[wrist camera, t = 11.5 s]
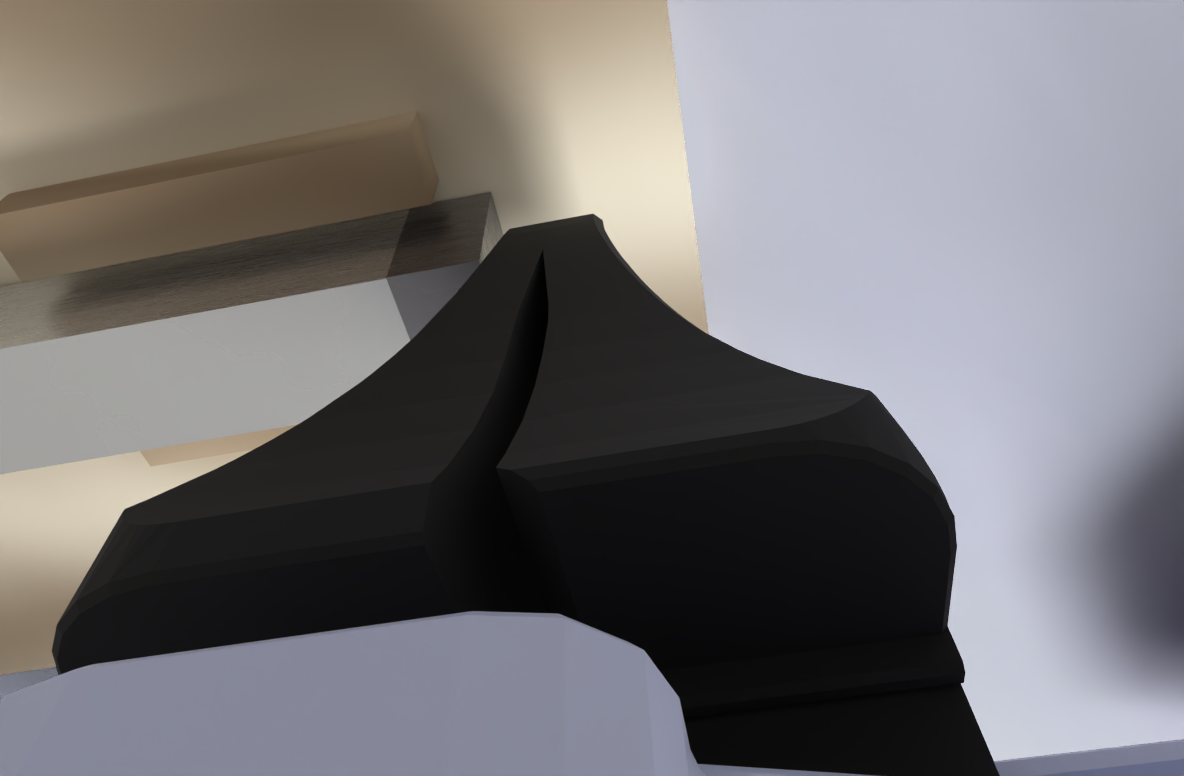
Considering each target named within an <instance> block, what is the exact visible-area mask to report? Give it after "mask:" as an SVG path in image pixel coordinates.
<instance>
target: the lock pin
mask: <svg viewBox="0 0 1184 776" xmlns="http://www.w3.org/2000/svg"><path fill="white" fill-rule="evenodd" d="M502 236H503V232H502V228H501V225H500V221H499V218H498V214H497V211H496V207H495V203H494V200H493V196H492V193H491V192H486V193H481V194H476V195H470V196H465V197H460V198H455V199H449V200H444V201H439V202H434V203H432V204H431V205H425V206H420V207H415V208H410V209H407V210H402V211H397V212H391V213H386V214H381V215H376V216H370V217H365V218H360V219H355V220H349V221H344V222H339V223H334V224H328V225H323V226H318V227H313V228H307V229H302V230H297V231H292V232H286V233H281V234H276V235H271V236H265V237H260V238H255V239H250V240H244V241H239V242H234V243H229V244H223V245H218V246H213V247H208V248H202V249H197V250H192V251H187V252H181V253H176V254H171V255H166V256H160V257H155V258H150V259H145V260H139V261H134V262H129V263H124V264H118V265H113V266H108V267H103V268H97V269H92V270H87V271H82V272H76V273H71V274H66V275H61V276H55V277H50V278H45V279H40V280H34V281H29V282H24V283H19V284H13V285H8V286H3V287H0V474H6V473H12V472H18V471H24V470H30V469H36V468H42V467H48V466H54V465H60V464H66V463H72V462H78V461H84V460H90V459H96V458H102V457H108V456H114V455H119V454H125V453H131V452H137V451H143V450H149V449H155V448H161V447H167V446H173V445H179V444H185V443H191V442H197V441H203V440H209V439H215V438H221V437H227V436H233V435H239V434H245V433H251V432H257V431H263V430H269V429H275V428H280V427H286V426H292V425H298V424H299V423H301V422H303V421H304V420H306V419H308V418H309V417H311V416H312V415H313V414H315V413H316V412H318V411H319V410H321V409H322V408H324V407H325V406H327V405H328V404H330V403H331V402H332V401H334V400H335V399H337V398H338V397H340V396H341V395H343V394H344V393H346V392H347V391H349V390H350V389H351V388H353V387H354V386H356V385H357V384H359V383H360V382H361V381H363V380H364V379H365V378H367V377H368V376H369V375H371V374H372V373H373V372H374V371H376V370H377V369H378V368H379V367H380V366H382V365H383V364H384V363H385V362H386V361H388V360H389V359H390V358H391V357H393V356H394V355H395V354H396V353H397V352H398V351H399V350H401V349H402V348H403V347H404V346H405V345H406V344H407V343H408V342H409V341H410V340H412V339H413V338H414V337H415V336H416V335H417V334H418V333H419V332H420V331H421V330H422V329H423V328H424V327H425V325H426V324H427V323H428V322H429V321H430V320H431V319H432V318H433V317H434V316H435V315H436V314H437V313H438V312H439V311H440V310H441V309H442V308H443V307H444V305H445V304H446V303H447V302H448V301H449V300H450V299H451V298H452V297H453V296H454V295H455V294H456V293H457V291H458V290H459V289H460V288H461V287H462V285H463V284H464V283H465V282H466V281H467V279H468V278H469V277H470V276H471V275H472V273H473V272H474V271H475V270H476V269H477V267H478V266H479V265H480V264H481V263H482V261H483V260H484V259H485V257H486V256H487V255H488V254H489V252H490V251H491V250H492V249H493V247H494V246H495V245H496V244H497V242H498V241H499V240H500V239H501V237H502Z"/></svg>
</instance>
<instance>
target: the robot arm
mask: <svg viewBox="0 0 1184 776" xmlns="http://www.w3.org/2000/svg"><path fill="white" fill-rule="evenodd" d="M956 549H957V543H956V531H955V519H954V515H953V513H952V511H951V509H950V507H949V505H948V503H947V500H946V497H945V495H944V493H943V491H942V489H941V487H940V485H939V483H938V481H937V479H936V477H935V476H934V474H933V472H932V471H931V469H930V468H929V466H928V465H927V463H926V461H925V460H924V458H923V457H922V455H921V454H920V452H919V451H918V450H917V448H916V447H915V446H914V444H913V443H912V442H911V440H910V439H909V437H908V436H907V435H906V433H905V432H904V431H903V429H902V428H901V427H900V426H899V424H898V423H897V422H896V420H895V419H894V418H893V417H892V415H891V414H890V413H889V412H888V410H887V409H886V408H885V407H884V405H883V404H882V403H881V402H880V400H879V399H878V398H877V397H876V396H875V395H874V394H873V393H872V392H871V391H869V390H864V389H860V388H856V387H852V386H848V385H844V384H840V383H836V382H832V381H828V380H823V379H819V378H815V377H811V376H807V375H803V374H800V373H797V372H794V371H791V370H788V369H785V368H782V367H780V366H777V365H774V364H771V363H769V362H766V361H763V360H760V359H758V358H756V357H753V356H751V355H749V354H746V353H744V352H742V351H740V350H737V349H735V348H734V347H732V346H730V345H728V344H726V343H724V342H722V341H720V340H718V339H716V338H714V337H712V336H710V335H709V334H707V333H705V332H704V331H702V330H701V329H699V328H698V327H696V326H695V325H694V324H692V323H691V322H689V321H688V320H687V319H685V318H684V317H682V316H681V315H680V314H679V313H677V312H676V311H675V310H674V309H672V308H671V307H670V306H669V305H668V304H667V303H665V302H664V301H663V300H662V299H661V298H660V297H659V296H658V295H657V294H656V293H655V292H654V291H652V290H651V289H650V288H649V287H648V286H647V285H646V284H645V283H644V282H643V280H642V279H641V278H640V277H639V276H638V275H637V274H636V273H635V272H634V270H633V269H632V268H631V267H630V266H629V264H628V263H627V262H626V261H625V260H624V259H623V257H622V256H621V255H620V253H619V252H618V251H617V249H616V248H615V246H614V245H613V243H612V242H611V240H610V238H609V237H608V235H607V233H606V231H605V229H604V224H603V220H602V219H600V218H599V217H597V216H596V215H595V214H588V215H582V216H577V217H571V218H566V219H560V220H555V221H549V222H544V223H538V224H533V225H527V226H522V227H516V228H511V229H509V230H508V231H507V232H506V233H505V234H504V235H503V236H502V237H501V239H500V240H499V241H498V242H497V244H496V245H495V246H494V247H493V249H492V250H491V251H490V252H489V254H488V255H487V256H486V257H485V259H484V260H483V261H482V263H481V264H480V265H479V266H478V267H477V269H476V270H475V271H474V272H473V273H472V275H471V276H470V277H469V278H468V279H467V281H466V282H465V283H464V284H463V285H462V287H461V288H460V289H459V290H458V291H457V293H456V294H455V295H454V296H453V297H452V298H451V299H450V300H449V301H448V302H447V303H446V304H445V305H444V307H443V308H442V309H441V310H440V311H439V312H438V313H437V314H436V315H435V316H434V317H433V318H432V319H431V320H430V321H429V322H428V323H427V324H426V325H425V327H424V328H423V329H422V330H421V331H420V332H419V333H418V334H417V335H416V336H415V337H414V338H413V339H412V340H410V341H409V342H408V343H407V344H406V345H405V346H404V347H403V348H402V349H401V350H399V351H398V352H397V353H396V354H395V355H394V356H393V357H391V358H390V359H389V360H388V361H386V362H385V363H384V364H383V365H382V366H380V367H379V368H378V369H377V370H376V371H374V372H373V373H372V374H371V375H369V376H368V377H367V378H365V379H364V380H363V381H361V382H360V383H359V384H357V385H356V386H354V387H353V388H351V389H350V390H349V391H347V392H346V393H344V394H343V395H341V396H340V397H338V398H337V399H335V400H334V401H332V402H331V403H330V404H328V405H327V406H325V407H324V408H322V409H321V410H319V411H318V412H316V413H315V414H313V415H312V416H311V417H309V418H308V419H306V420H304V421H303V422H301V423H299V424H298V425H296V426H294V427H293V428H291V429H289V430H287V431H286V432H284V433H282V434H281V435H279V436H277V437H275V438H274V439H272V440H270V441H268V442H267V443H265V444H263V445H261V446H259V447H257V448H255V449H253V450H252V451H250V452H248V453H246V454H244V455H242V456H240V457H239V458H237V459H235V460H233V461H231V462H229V463H227V464H225V465H223V466H221V467H219V468H217V469H215V470H212V471H210V472H208V473H206V474H203V475H201V476H199V477H197V478H194V479H192V480H190V481H188V482H186V483H183V484H181V485H179V486H177V487H174V488H172V489H170V490H168V491H165V492H163V493H161V494H159V495H157V496H154V497H152V498H150V499H148V500H145V501H143V502H140V503H138V504H136V505H133V506H131V507H128V508H126V509H124V511H123V512H122V514H121V516H120V517H119V519H118V521H117V522H116V524H115V526H114V528H113V529H112V531H111V533H110V534H109V536H108V538H107V540H106V541H105V543H104V545H103V546H102V548H101V550H100V552H99V553H98V555H97V557H96V558H95V560H94V562H93V564H92V565H91V567H90V569H89V570H88V572H87V574H86V575H85V577H84V579H83V581H82V582H81V584H80V586H79V587H78V589H77V591H76V593H75V594H74V596H73V598H72V599H71V601H70V603H69V605H68V606H67V608H66V610H65V611H64V613H63V615H62V617H61V618H60V620H59V622H58V623H57V626H56V631H55V636H54V641H53V646H52V654H53V658H54V661H55V664H56V668H57V671H58V676H55V677H53V678H50V679H47V680H44V681H42V682H39V683H36V684H34V685H31V686H28V687H25V688H23V689H20V690H17V691H14V692H12V693H9V694H6V695H4V697H3V698H2V700H1V702H0V776H1184V739H1182V740H1174V741H1165V742H1156V743H1148V744H1139V745H1131V746H1122V747H1114V748H1105V749H1096V750H1088V751H1079V752H1071V753H1062V754H1053V755H1045V756H1036V757H1028V758H1019V759H1011V760H1002V761H993V759H992V756H991V754H990V751H989V749H988V747H987V744H986V742H985V740H984V737H983V735H982V733H981V730H980V728H979V726H978V723H977V721H976V719H975V716H974V714H973V712H972V709H971V707H970V705H969V702H968V700H967V697H966V695H965V693H964V690H963V688H962V686H961V683H964V677H965V670H964V665H963V661H962V658H961V656H960V654H959V651H958V649H957V647H956V645H955V642H954V640H953V638H952V635H951V633H950V631H949V629H948V626H947V624H948V616H949V607H950V599H951V591H952V582H953V574H954V566H955V557H956Z"/></svg>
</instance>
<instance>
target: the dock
mask: <svg viewBox="0 0 1184 776" xmlns="http://www.w3.org/2000/svg"><path fill="white" fill-rule="evenodd" d="M486 192H491V193H492V196H493V200H494V203H495V207H496V211H497V214H498V218H499V221H500V225H501V228H502V232H503V235H504V234H505V233H506V232H507V231H508V230H509V229H511V228H516V227H522V226H527V225H533V224H538V223H544V222H549V221H555V220H560V219H566V218H571V217H577V216H582V215H588V214H595V215H596V216H597V217H599V218H600V219H602V220H603V224H604V229H605V231H606V233H607V235H608V237H609V238H610V240H611V242H612V243H613V245H614V246H615V248H616V249H617V251H618V252H619V253H620V255H621V256H622V257H623V259H624V260H625V261H626V262H627V263H628V264H629V266H630V267H631V268H632V269H633V270H634V272H635V273H636V274H637V275H638V276H639V277H640V278H641V279H642V280H643V282H644V283H645V284H646V285H647V286H648V287H649V288H650V289H651V290H652V291H654V292H655V293H656V294H657V295H658V296H659V297H660V298H661V299H662V300H663V301H664V302H665V303H667V304H668V305H669V306H670V307H671V308H672V309H674V310H675V311H676V312H677V313H679V314H680V315H681V316H682V317H684V318H685V319H687V320H688V321H689V322H691V323H692V324H694V325H695V326H696V327H698V328H699V329H701V330H702V331H704V332H705V333H707V334H708V326H707V318H706V310H705V302H704V294H703V286H702V278H701V270H700V262H699V254H698V246H697V238H696V230H695V222H694V214H693V206H692V198H691V190H690V182H689V174H688V166H687V158H686V150H685V142H684V134H683V126H682V118H681V110H680V102H679V94H678V86H677V78H676V70H675V62H674V54H673V46H672V38H671V30H670V22H669V14H668V6H667V0H0V287H3V286H8V285H13V284H19V283H24V282H29V281H34V280H40V279H45V278H50V277H55V276H61V275H66V274H71V273H76V272H82V271H87V270H92V269H97V268H103V267H108V266H113V265H118V264H124V263H129V262H134V261H139V260H145V259H150V258H155V257H160V256H166V255H171V254H176V253H181V252H187V251H192V250H197V249H202V248H208V247H213V246H218V245H223V244H229V243H234V242H239V241H244V240H250V239H255V238H260V237H265V236H271V235H276V234H281V233H286V232H292V231H297V230H302V229H307V228H313V227H318V226H323V225H328V224H334V223H339V222H344V221H349V220H355V219H360V218H365V217H370V216H376V215H381V214H386V213H391V212H397V211H402V210H407V209H410V208H415V207H420V206H425V205H431V204H432V203H434V202H439V201H444V200H449V199H455V198H460V197H465V196H470V195H476V194H481V193H486ZM294 426H296V425H292V426H286V427H280V428H275V429H269V430H263V431H257V432H251V433H245V434H239V435H233V436H227V437H221V438H215V439H209V440H203V441H197V442H191V443H185V444H179V445H173V446H167V447H161V448H155V449H149V450H143V451H137V452H131V453H125V454H119V455H114V456H108V457H102V458H96V459H90V460H84V461H78V462H72V463H66V464H60V465H54V466H48V467H42V468H36V469H30V470H24V471H18V472H12V473H6V474H0V675H4V674H11V673H18V672H25V671H32V670H39V669H46V668H53V667H56V664H55V661H54V658H53V654H52V646H53V641H54V636H55V631H56V626H57V623H58V622H59V620H60V618H61V617H62V615H63V613H64V611H65V610H66V608H67V606H68V605H69V603H70V601H71V599H72V598H73V596H74V594H75V593H76V591H77V589H78V587H79V586H80V584H81V582H82V581H83V579H84V577H85V575H86V574H87V572H88V570H89V569H90V567H91V565H92V564H93V562H94V560H95V558H96V557H97V555H98V553H99V552H100V550H101V548H102V546H103V545H104V543H105V541H106V540H107V538H108V536H109V534H110V533H111V531H112V529H113V528H114V526H115V524H116V522H117V521H118V519H119V517H120V516H121V514H122V512H123V511H124V509H126V508H128V507H131V506H133V505H136V504H138V503H140V502H143V501H145V500H148V499H150V498H152V497H154V496H157V495H159V494H161V493H163V492H165V491H168V490H170V489H172V488H174V487H177V486H179V485H181V484H183V483H186V482H188V481H190V480H192V479H194V478H197V477H199V476H201V475H203V474H206V473H208V472H210V471H212V470H215V469H217V468H219V467H221V466H223V465H225V464H227V463H229V462H231V461H233V460H235V459H237V458H239V457H240V456H242V455H244V454H246V453H248V452H250V451H252V450H253V449H255V448H257V447H259V446H261V445H263V444H265V443H267V442H268V441H270V440H272V439H274V438H275V437H277V436H279V435H281V434H282V433H284V432H286V431H287V430H289V429H291V428H293V427H294Z"/></svg>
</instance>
